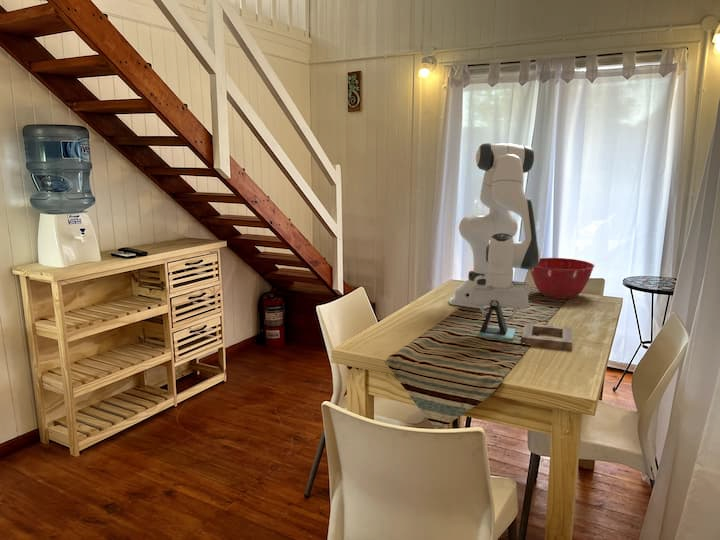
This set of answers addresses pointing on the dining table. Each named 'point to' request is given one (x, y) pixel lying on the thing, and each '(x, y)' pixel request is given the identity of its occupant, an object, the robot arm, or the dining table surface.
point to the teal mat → (508, 335)
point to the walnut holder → (546, 341)
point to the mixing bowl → (561, 277)
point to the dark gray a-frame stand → (500, 318)
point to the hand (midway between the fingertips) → (497, 318)
